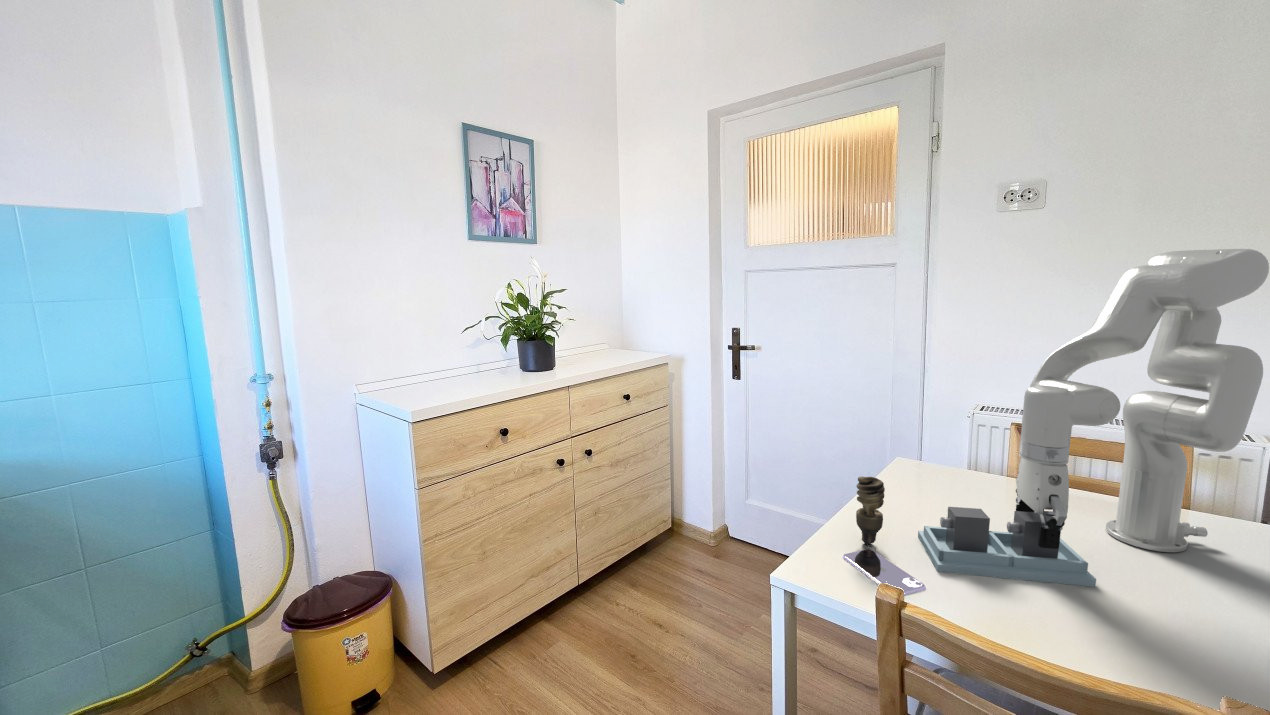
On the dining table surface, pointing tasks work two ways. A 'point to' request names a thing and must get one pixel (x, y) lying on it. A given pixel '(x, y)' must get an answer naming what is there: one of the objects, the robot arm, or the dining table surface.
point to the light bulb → (870, 507)
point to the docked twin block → (966, 529)
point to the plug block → (1028, 535)
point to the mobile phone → (883, 570)
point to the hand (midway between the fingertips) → (1035, 535)
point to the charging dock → (1005, 560)
